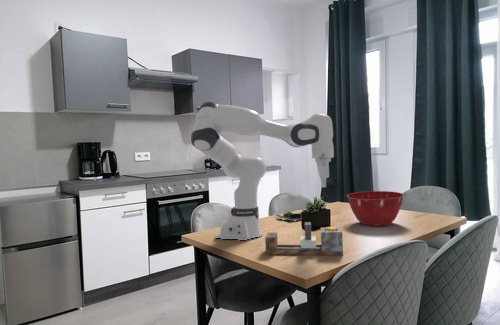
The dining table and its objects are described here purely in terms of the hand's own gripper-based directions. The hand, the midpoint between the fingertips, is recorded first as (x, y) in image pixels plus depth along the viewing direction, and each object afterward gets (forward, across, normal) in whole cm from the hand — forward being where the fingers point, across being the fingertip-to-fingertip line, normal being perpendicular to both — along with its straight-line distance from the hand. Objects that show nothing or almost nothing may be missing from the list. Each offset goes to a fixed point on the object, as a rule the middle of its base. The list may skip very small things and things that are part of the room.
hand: (323, 187), depth 148 cm
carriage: (+23, -6, +7) cm, 25 cm away
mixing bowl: (+25, +45, -28) cm, 58 cm away
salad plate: (+26, +60, +16) cm, 68 cm away
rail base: (+25, -6, +9) cm, 28 cm away
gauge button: (+20, -6, -2) cm, 21 cm away
